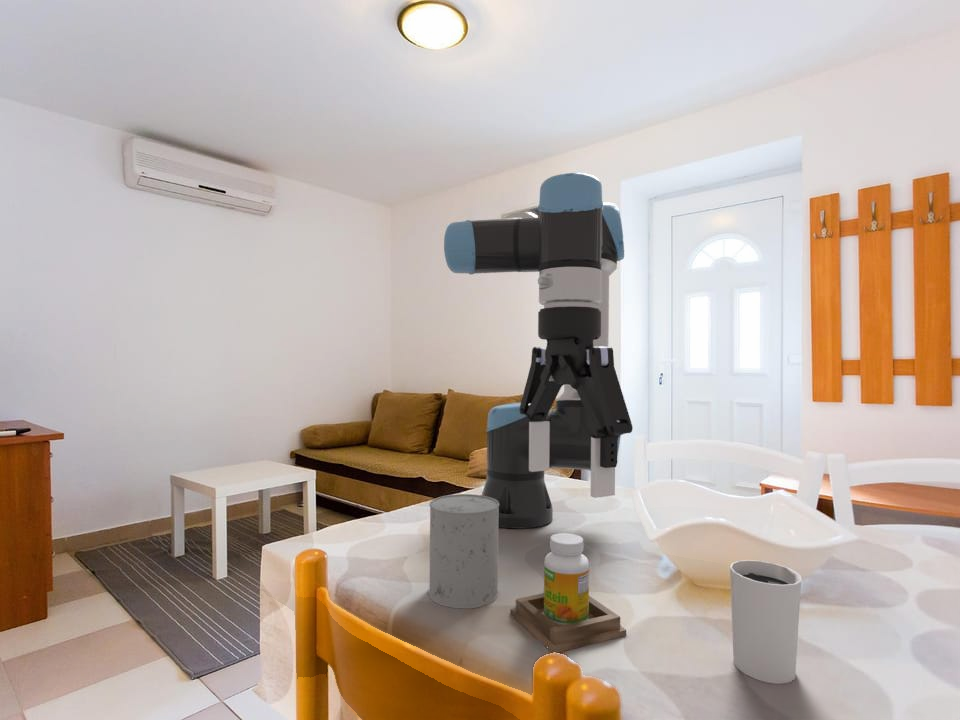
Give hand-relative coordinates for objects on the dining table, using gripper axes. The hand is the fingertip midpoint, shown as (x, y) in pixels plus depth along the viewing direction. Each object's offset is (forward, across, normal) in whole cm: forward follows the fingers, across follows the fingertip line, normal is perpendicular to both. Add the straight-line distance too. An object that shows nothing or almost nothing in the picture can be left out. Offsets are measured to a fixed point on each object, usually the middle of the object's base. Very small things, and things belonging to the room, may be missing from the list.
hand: (567, 482), depth 65 cm
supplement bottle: (+17, 0, 0) cm, 17 cm away
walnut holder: (+17, 0, 0) cm, 17 cm away
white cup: (+17, +16, +14) cm, 27 cm away
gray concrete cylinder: (+17, -13, -8) cm, 23 cm away
